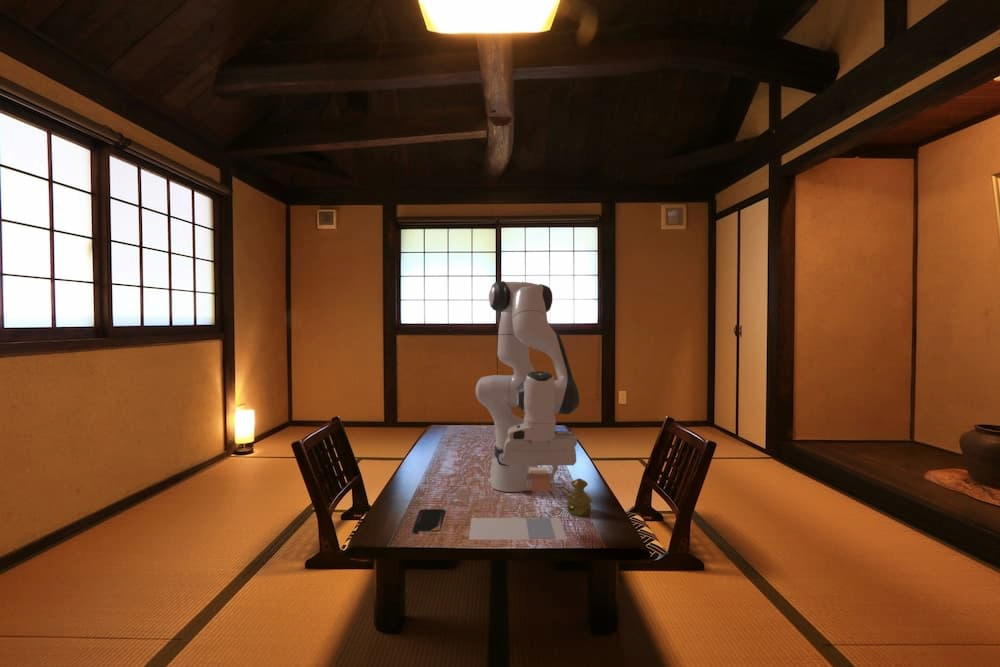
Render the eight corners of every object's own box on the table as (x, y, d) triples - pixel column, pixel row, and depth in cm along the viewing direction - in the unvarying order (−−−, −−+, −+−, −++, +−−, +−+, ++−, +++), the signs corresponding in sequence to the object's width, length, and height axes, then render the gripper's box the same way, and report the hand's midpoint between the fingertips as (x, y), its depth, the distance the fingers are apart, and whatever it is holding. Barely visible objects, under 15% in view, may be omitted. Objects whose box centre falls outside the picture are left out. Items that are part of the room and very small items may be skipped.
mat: (471, 520, 144) (471, 517, 144) (560, 520, 144) (560, 517, 144) (468, 541, 130) (468, 539, 130) (566, 541, 130) (566, 539, 130)
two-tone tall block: (550, 490, 131) (550, 479, 131) (531, 490, 131) (531, 479, 131) (546, 477, 142) (546, 467, 142) (529, 477, 142) (529, 467, 142)
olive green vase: (578, 518, 145) (578, 485, 145) (562, 510, 152) (562, 478, 151) (596, 513, 149) (596, 480, 149) (580, 505, 155) (580, 474, 155)
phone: (445, 509, 150) (439, 530, 135) (445, 513, 150) (439, 534, 135) (420, 509, 150) (411, 530, 135) (420, 512, 150) (411, 534, 135)
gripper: (575, 428, 139) (575, 476, 140) (503, 428, 139) (503, 476, 140) (578, 433, 133) (578, 484, 133) (503, 433, 133) (503, 484, 133)
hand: (539, 480), depth 136 cm, fingers closed on two-tone tall block, 5 cm apart
